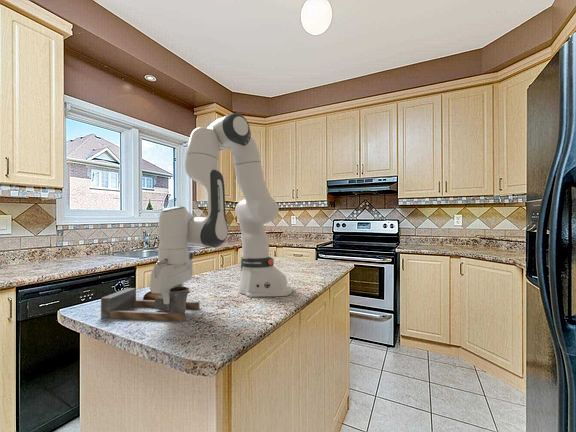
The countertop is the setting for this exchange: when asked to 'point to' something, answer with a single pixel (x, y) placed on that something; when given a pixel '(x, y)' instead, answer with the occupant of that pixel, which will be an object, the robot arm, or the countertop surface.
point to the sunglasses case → (152, 296)
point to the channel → (126, 299)
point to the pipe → (174, 301)
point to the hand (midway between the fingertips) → (172, 300)
